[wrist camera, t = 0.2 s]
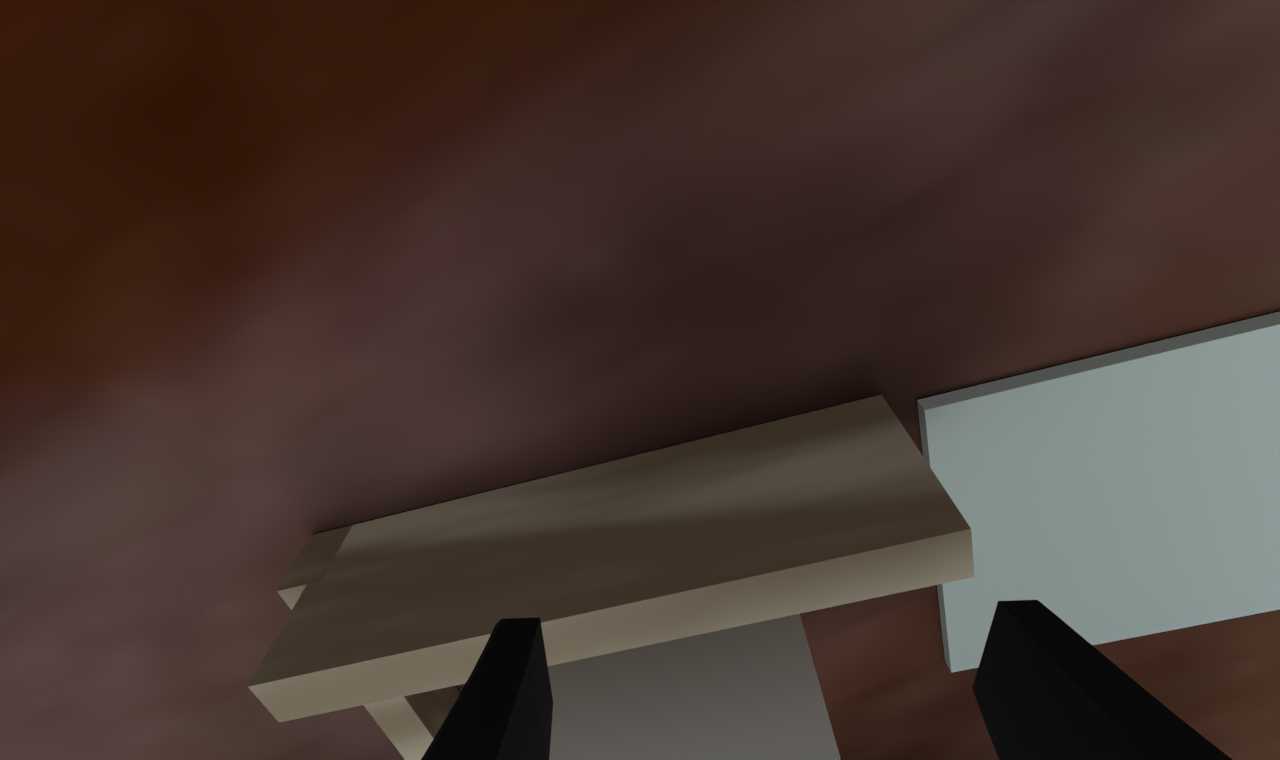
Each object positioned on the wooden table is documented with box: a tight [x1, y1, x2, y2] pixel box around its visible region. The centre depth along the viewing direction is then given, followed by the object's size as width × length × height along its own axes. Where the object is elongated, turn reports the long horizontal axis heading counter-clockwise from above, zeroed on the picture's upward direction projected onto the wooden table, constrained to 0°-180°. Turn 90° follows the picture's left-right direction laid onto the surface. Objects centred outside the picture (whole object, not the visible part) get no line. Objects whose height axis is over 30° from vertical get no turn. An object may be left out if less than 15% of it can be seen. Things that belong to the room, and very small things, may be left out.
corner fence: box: [248, 394, 974, 760], centre depth 22 cm, size 14×19×6 cm
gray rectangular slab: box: [548, 614, 841, 760], centre depth 20 cm, size 2×10×9 cm, turn 106°
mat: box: [917, 311, 1280, 673], centre depth 22 cm, size 12×12×1 cm
